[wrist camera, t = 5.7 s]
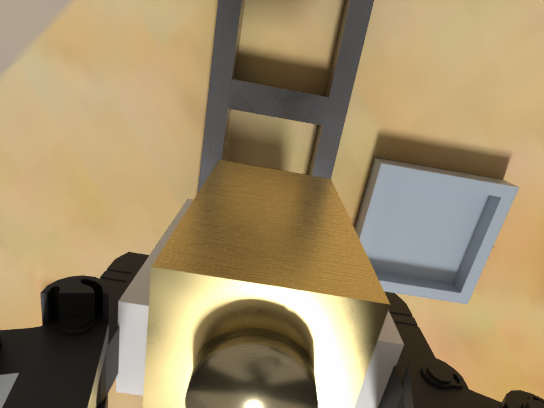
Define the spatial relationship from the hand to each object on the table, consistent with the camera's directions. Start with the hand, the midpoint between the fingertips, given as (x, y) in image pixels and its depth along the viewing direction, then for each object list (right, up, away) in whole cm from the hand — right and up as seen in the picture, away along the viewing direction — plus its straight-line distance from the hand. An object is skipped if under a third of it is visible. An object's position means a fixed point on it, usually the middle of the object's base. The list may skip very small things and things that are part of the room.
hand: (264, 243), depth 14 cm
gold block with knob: (0, +1, +2) cm, 2 cm away
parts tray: (+13, -1, +17) cm, 21 cm away
